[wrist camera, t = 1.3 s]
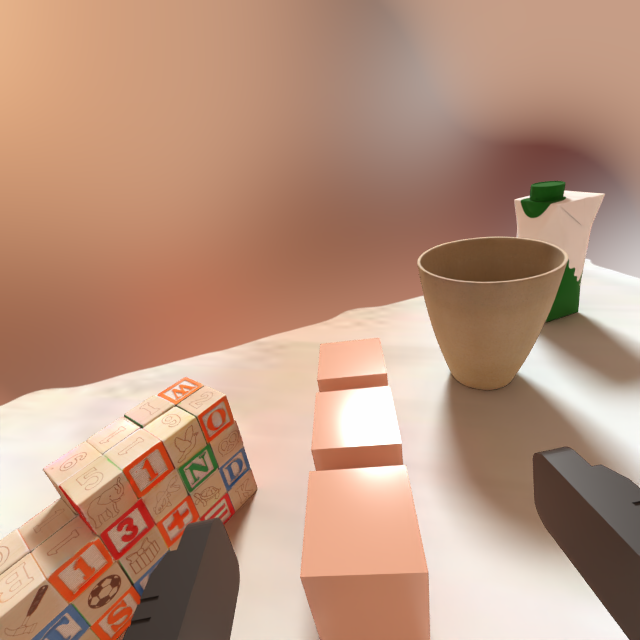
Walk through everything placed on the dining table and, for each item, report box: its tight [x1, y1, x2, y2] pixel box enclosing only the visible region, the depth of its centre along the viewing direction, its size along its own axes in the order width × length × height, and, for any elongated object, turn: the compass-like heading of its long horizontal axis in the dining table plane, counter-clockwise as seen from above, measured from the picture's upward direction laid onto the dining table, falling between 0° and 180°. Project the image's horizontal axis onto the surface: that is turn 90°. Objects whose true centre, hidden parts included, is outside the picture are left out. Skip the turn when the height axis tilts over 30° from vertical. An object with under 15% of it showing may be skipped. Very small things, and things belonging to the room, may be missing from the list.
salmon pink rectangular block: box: [300, 465, 430, 640], centre depth 22 cm, size 6×6×11 cm
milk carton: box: [514, 181, 605, 322], centre depth 53 cm, size 9×9×20 cm
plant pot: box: [417, 237, 568, 390], centre depth 42 cm, size 15×15×16 cm
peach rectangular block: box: [317, 338, 388, 392], centre depth 36 cm, size 6×6×11 cm
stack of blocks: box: [0, 377, 257, 640], centre depth 27 cm, size 21×6×12 cm, turn 143°
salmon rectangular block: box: [311, 386, 403, 471], centre depth 29 cm, size 6×6×11 cm
